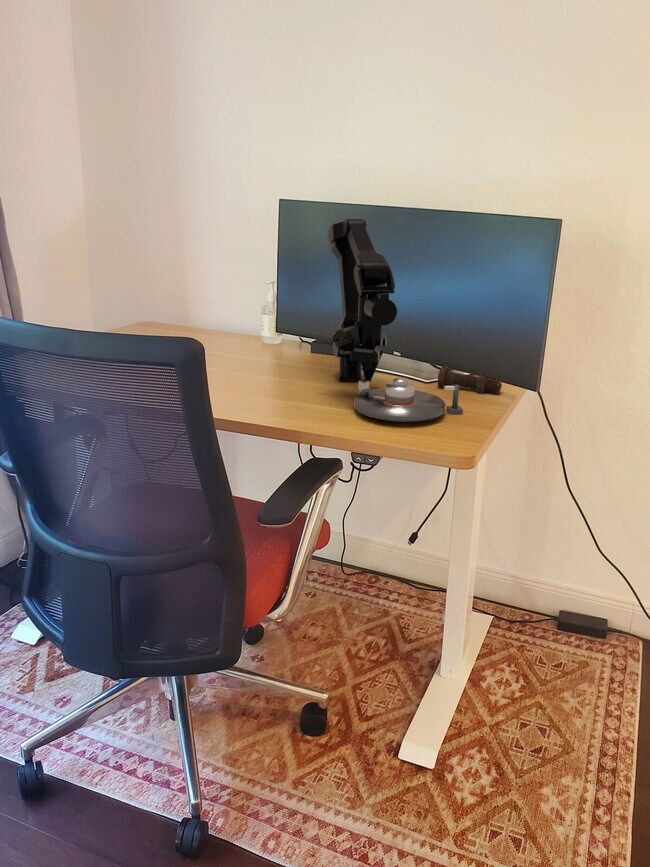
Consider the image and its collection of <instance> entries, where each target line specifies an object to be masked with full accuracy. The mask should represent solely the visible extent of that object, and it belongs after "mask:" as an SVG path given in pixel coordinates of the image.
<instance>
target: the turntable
mask: <svg viewBox="0 0 650 867" xmlns="http://www.w3.org/2000/svg"><path fill="white" fill-rule="evenodd" d="M385 389H386V388H378V389H372V390H370V383H369V380H365V379H364V380H359V381H358V394H357V395H356V396H355V397H354V400H353V401H354V403H353V407H354V409H355V410H356V411H357V412H358V413H360V414H362V415H364V416H367V417H369V418H374V419H377V420H382V421H388V422H402V423H410V422H411V423H413V422H414V423H415V422H423V421H431V420H433V419H436V418H439V417H441V416H442V415H444V413H445V411H446V402H445V401H444V400H443V399H442V398H440V397H439V396H437V395H435V394H433V393H429V392H426V391H421V390H417V389H415V394H414V403H413V404H411V405H406V406H397V405H391V404H388V403H386V402H385Z"/></svg>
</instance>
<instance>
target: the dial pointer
mask: <svg viewBox="0 0 650 867" xmlns="http://www.w3.org/2000/svg"><path fill="white" fill-rule="evenodd" d="M443 389H444V391H453V393H452V403H451V404H452V405H446V406H445V411H446V412H447V413H448V415H463V414H464V408H462V407H461V406H460V405H459V394H460V386H459V385H452V386H451V385H447V386H445V387H444V388H443Z"/></svg>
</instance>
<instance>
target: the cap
mask: <svg viewBox="0 0 650 867" xmlns="http://www.w3.org/2000/svg"><path fill="white" fill-rule="evenodd" d="M392 380H393V381H389V382H387V383H385V388H384V389H385V402H386V403H388V404H391V405H397V406H406V405H411V404H413V403H414V394H415V390H416V385H415V384H413V383H411V382H409V379H408V378H406V377H401V376H398V377H393V379H392Z"/></svg>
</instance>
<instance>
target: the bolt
mask: <svg viewBox="0 0 650 867" xmlns="http://www.w3.org/2000/svg"><path fill="white" fill-rule="evenodd" d="M496 380H497V379H496ZM496 380H495V379H494V380H493V378H489V377H488V378H487V377H484V376H481V375H480V374H479V375H478V376H477V375H471V374H464V373H459V372H455V371H450V366H449V365H448V366H447V365H443V366H441V367H440V369H439V372H438V375H437V387H438V388H440V389H444V387H445V386H454V385H459V387H461V388H467V389H468V388H469V389H472V390H475V391H476V393H479V394H485V393H486V392H489V393H490V392H491V393H496V394H498V393H500V392H501V390H502V386H503V384H502V383H503V381H501V382H499V381H496Z"/></svg>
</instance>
